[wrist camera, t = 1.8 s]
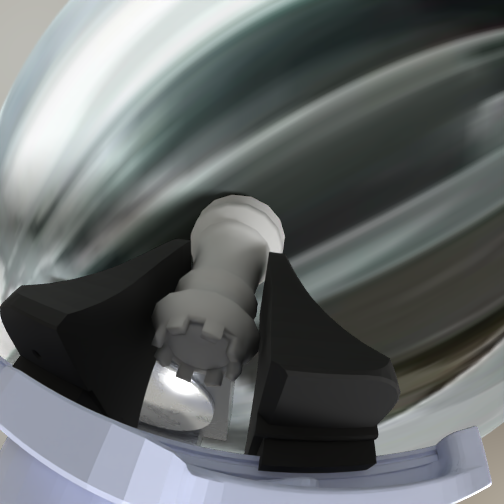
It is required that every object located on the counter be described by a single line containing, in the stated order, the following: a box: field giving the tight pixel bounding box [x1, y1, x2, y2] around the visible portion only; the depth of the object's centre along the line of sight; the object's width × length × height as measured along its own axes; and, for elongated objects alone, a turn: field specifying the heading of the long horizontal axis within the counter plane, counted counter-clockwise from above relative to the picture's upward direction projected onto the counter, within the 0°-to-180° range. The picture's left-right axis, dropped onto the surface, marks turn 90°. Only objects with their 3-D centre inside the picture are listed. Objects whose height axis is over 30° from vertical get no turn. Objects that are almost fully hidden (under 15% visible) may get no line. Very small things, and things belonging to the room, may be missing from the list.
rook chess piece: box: [151, 195, 285, 387], centre depth 10 cm, size 4×4×8 cm
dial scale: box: [137, 360, 235, 446], centre depth 18 cm, size 16×13×5 cm
